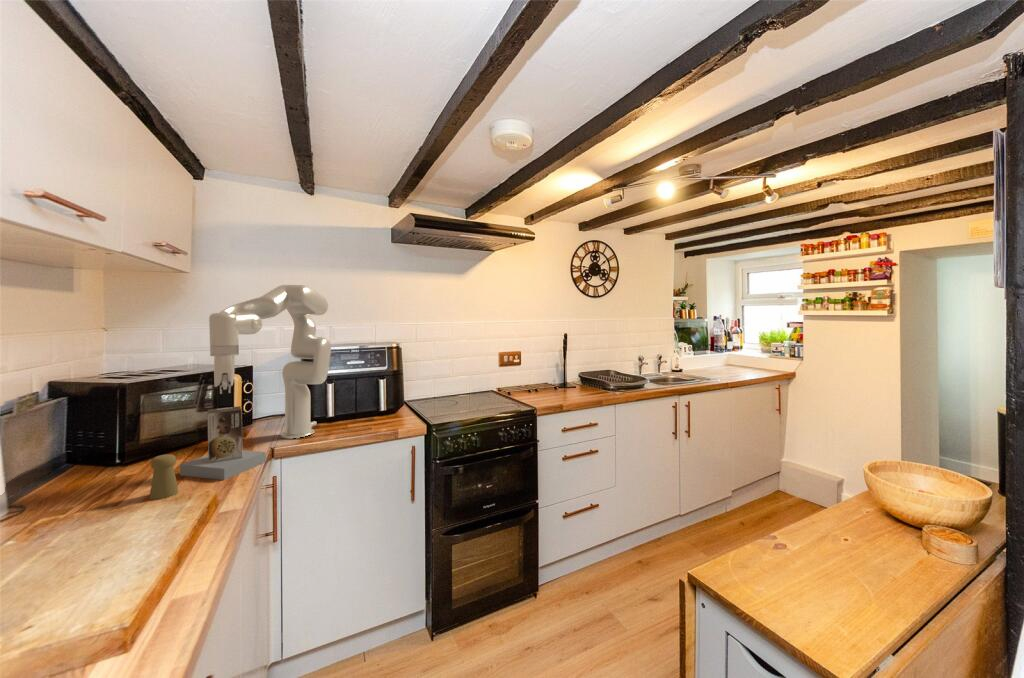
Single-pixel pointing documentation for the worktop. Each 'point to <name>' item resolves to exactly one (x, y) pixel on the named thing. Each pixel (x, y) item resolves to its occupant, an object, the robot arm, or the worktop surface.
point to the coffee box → (224, 434)
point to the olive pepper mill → (163, 477)
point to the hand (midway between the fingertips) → (225, 402)
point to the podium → (222, 466)
